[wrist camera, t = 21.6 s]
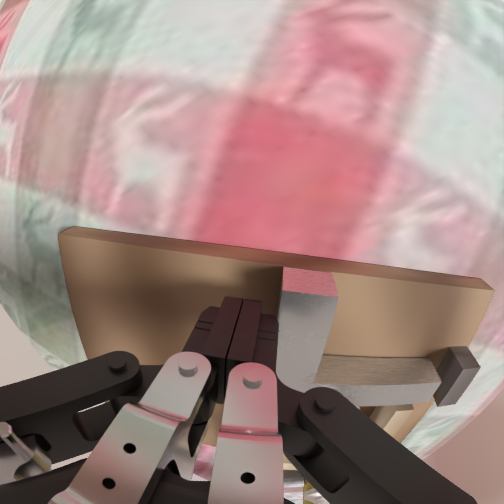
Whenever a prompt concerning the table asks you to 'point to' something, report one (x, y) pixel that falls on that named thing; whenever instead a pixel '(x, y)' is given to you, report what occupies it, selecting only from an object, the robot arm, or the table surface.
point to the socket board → (269, 307)
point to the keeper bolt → (338, 367)
